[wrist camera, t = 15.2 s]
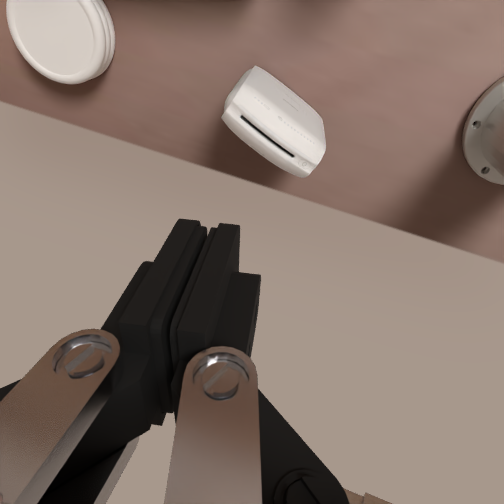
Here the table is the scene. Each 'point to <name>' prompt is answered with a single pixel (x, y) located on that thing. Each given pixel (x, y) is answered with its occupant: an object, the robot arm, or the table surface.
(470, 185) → the table surface
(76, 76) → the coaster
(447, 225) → the table surface
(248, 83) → the photo printer
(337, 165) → the table surface
